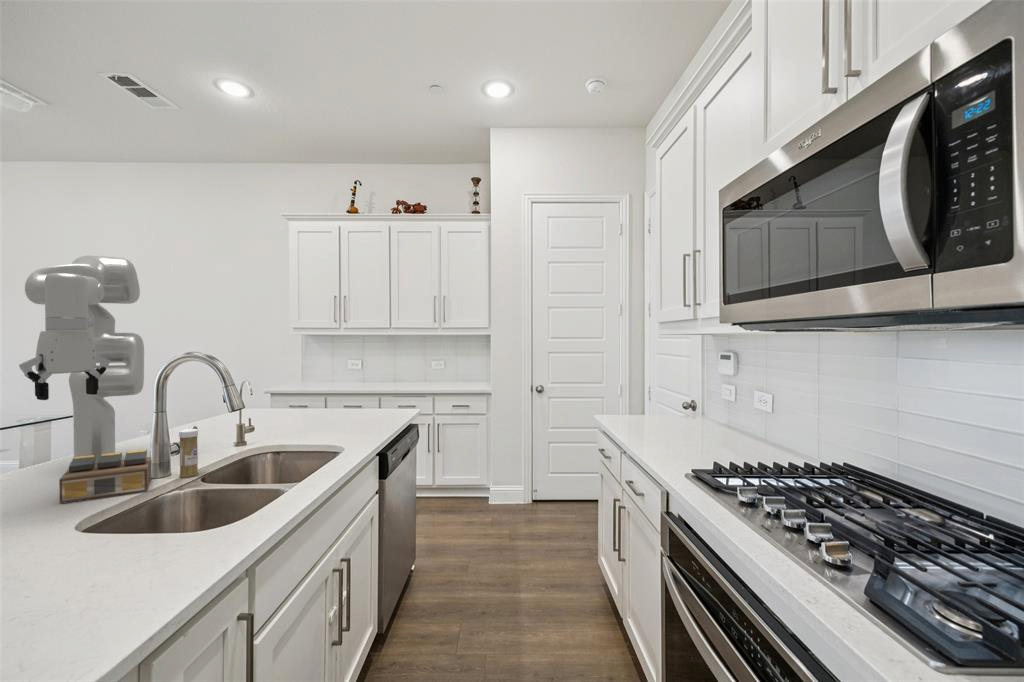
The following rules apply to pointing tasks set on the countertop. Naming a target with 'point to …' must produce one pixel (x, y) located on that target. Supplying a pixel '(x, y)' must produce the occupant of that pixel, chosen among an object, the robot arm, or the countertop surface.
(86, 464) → the rocker
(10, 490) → the countertop surface
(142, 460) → the rocker
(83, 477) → the switch unit
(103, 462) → the rocker
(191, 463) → the sprinkles bottle
